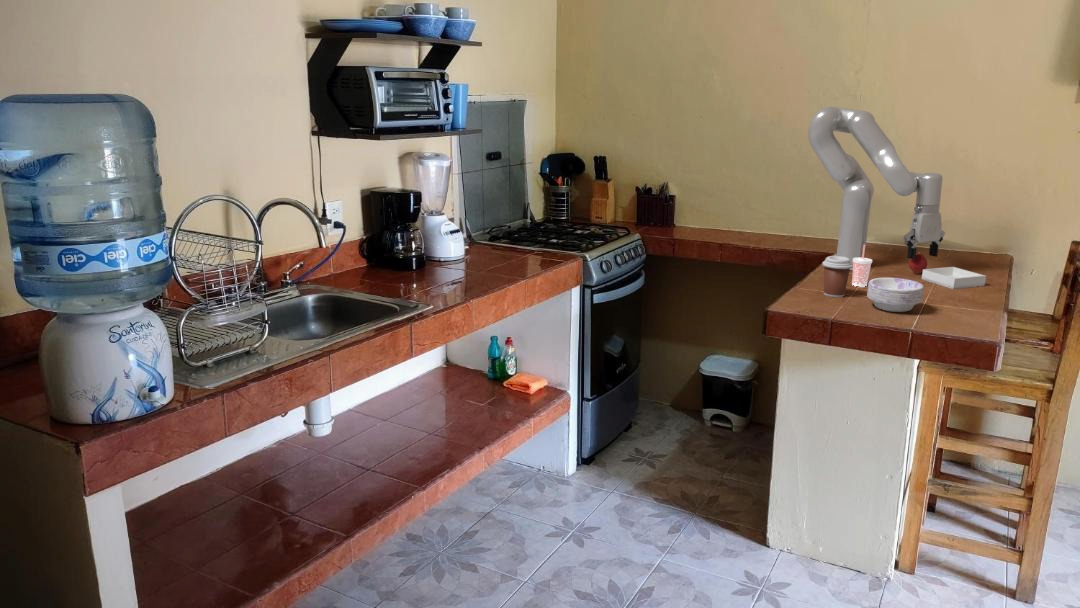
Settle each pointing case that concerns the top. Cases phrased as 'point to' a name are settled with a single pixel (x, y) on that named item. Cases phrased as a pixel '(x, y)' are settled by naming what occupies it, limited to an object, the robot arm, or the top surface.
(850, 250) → the robot arm
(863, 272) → the beverage cup
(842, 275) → the coffee cup
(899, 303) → the paper bowls
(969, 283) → the box
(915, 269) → the onion
